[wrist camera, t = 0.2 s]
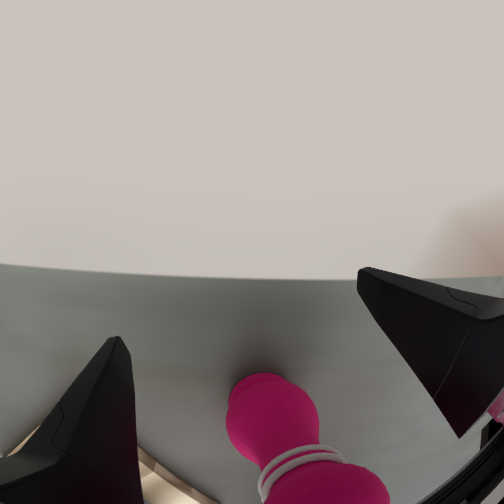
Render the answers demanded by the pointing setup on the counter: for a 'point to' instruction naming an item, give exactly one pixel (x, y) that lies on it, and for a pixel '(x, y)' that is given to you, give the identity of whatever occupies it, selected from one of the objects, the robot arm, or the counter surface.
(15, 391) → the counter surface
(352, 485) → the pepper mill
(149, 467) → the pin board
